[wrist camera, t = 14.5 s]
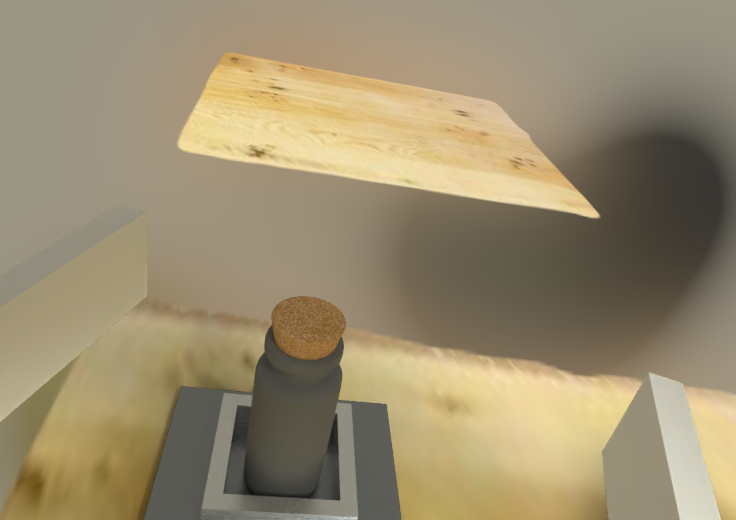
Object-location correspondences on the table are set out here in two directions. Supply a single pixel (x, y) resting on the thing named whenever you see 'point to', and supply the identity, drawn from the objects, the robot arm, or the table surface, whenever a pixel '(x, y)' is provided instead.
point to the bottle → (294, 398)
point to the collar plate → (227, 457)
